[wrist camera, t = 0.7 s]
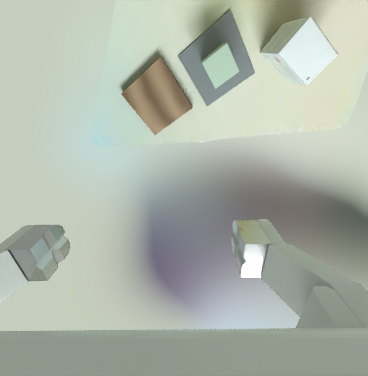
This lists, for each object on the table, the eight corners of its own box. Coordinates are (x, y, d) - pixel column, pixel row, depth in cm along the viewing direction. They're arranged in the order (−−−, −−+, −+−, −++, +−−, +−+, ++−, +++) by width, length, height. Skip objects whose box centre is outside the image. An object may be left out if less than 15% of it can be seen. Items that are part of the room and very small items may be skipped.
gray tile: (230, 9, 32) (230, 9, 32) (254, 72, 38) (254, 72, 38) (178, 56, 37) (178, 56, 37) (207, 106, 43) (207, 106, 43)
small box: (307, 53, 36) (340, 55, 28) (282, 79, 39) (306, 87, 31) (283, 21, 33) (311, 13, 25) (258, 52, 36) (277, 53, 28)
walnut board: (161, 56, 37) (160, 56, 36) (192, 106, 43) (192, 107, 42) (123, 92, 42) (121, 93, 41) (155, 132, 48) (154, 135, 47)
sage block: (222, 43, 35) (227, 42, 30) (232, 68, 38) (239, 71, 32) (200, 61, 37) (202, 63, 32) (212, 83, 40) (215, 89, 34)
